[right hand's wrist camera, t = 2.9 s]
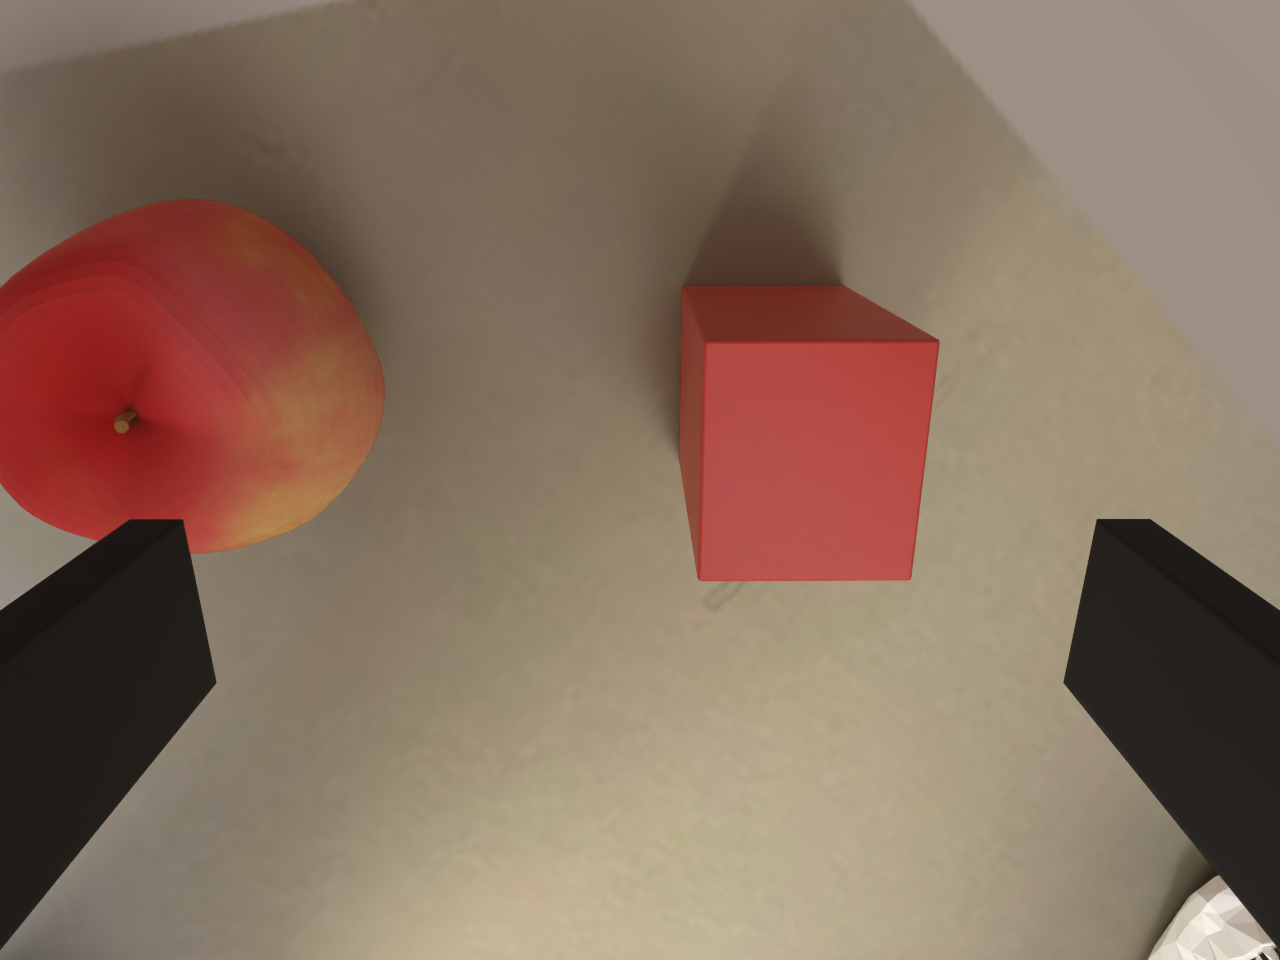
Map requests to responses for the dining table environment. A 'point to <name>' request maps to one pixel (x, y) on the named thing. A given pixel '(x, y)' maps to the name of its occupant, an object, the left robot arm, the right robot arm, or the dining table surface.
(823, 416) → the brick
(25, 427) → the apple
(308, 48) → the dining table surface
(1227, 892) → the skull
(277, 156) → the dining table surface
